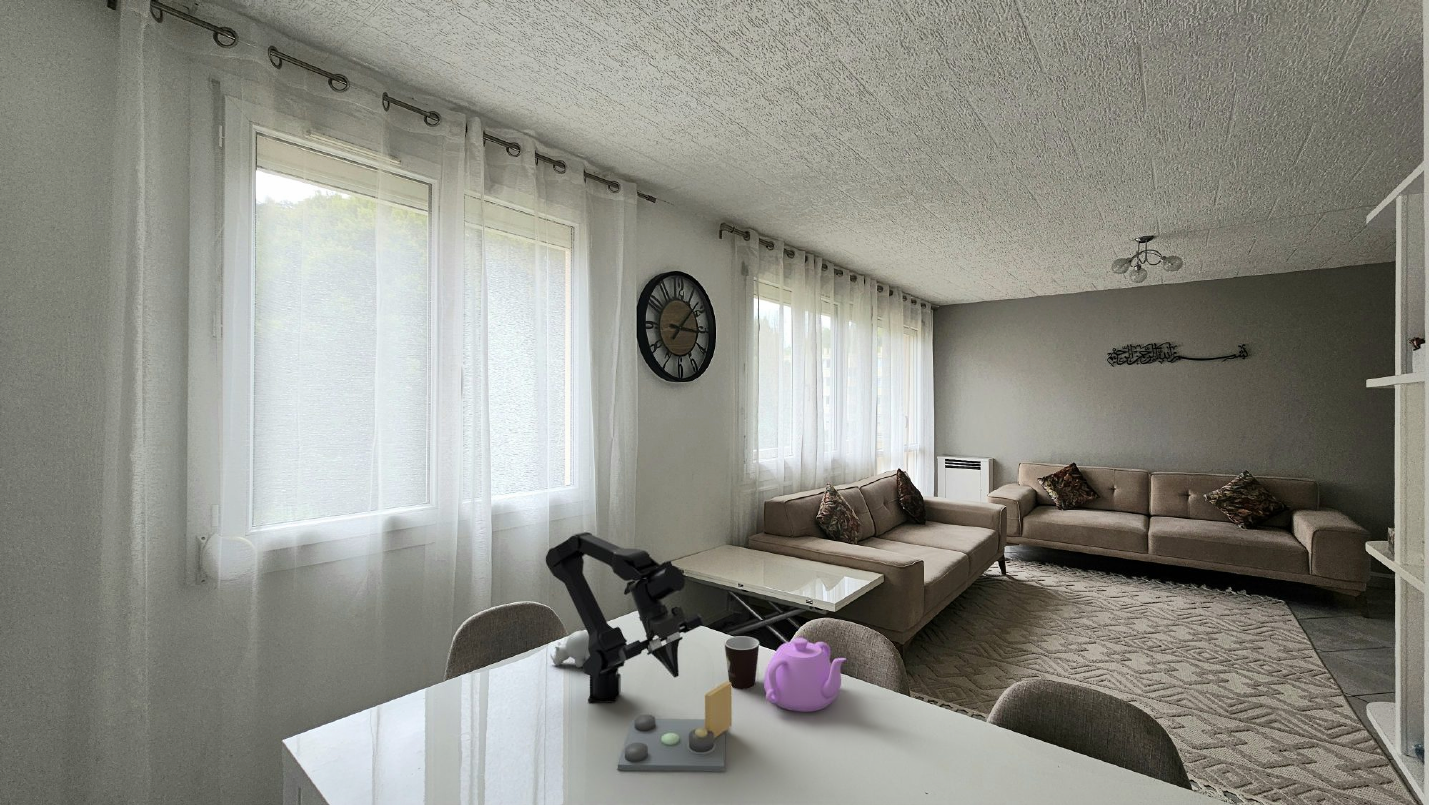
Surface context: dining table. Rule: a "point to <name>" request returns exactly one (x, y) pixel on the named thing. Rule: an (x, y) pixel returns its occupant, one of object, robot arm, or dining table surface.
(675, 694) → the dining table surface
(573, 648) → the round bodied animal figurine
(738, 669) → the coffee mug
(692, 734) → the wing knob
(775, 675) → the teapot
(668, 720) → the plate
